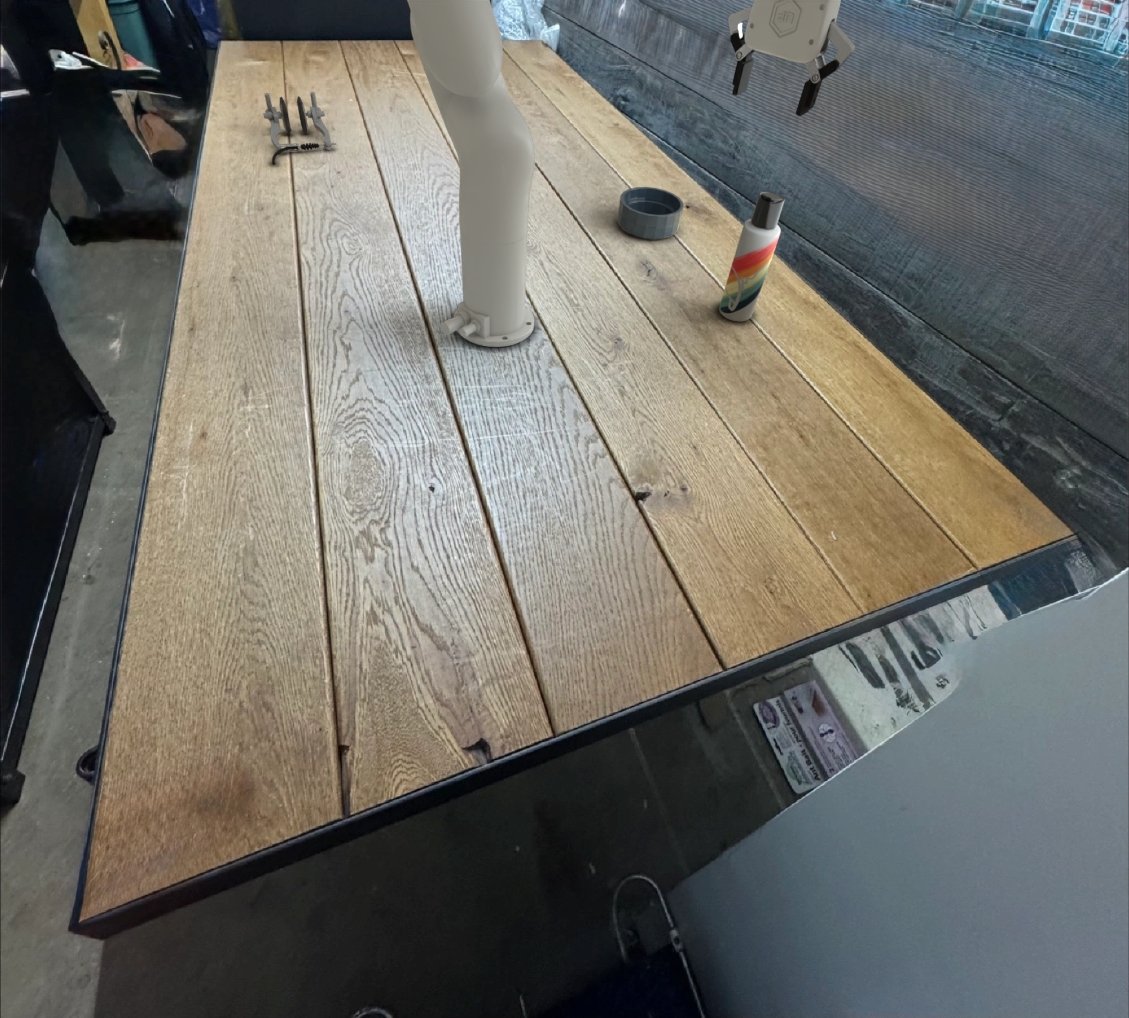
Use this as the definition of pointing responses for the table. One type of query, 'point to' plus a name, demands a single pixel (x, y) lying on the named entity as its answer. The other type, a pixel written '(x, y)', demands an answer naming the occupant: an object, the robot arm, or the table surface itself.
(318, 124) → the bike brake
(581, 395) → the table surface
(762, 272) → the lotion bottle
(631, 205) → the bowl
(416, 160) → the table surface
